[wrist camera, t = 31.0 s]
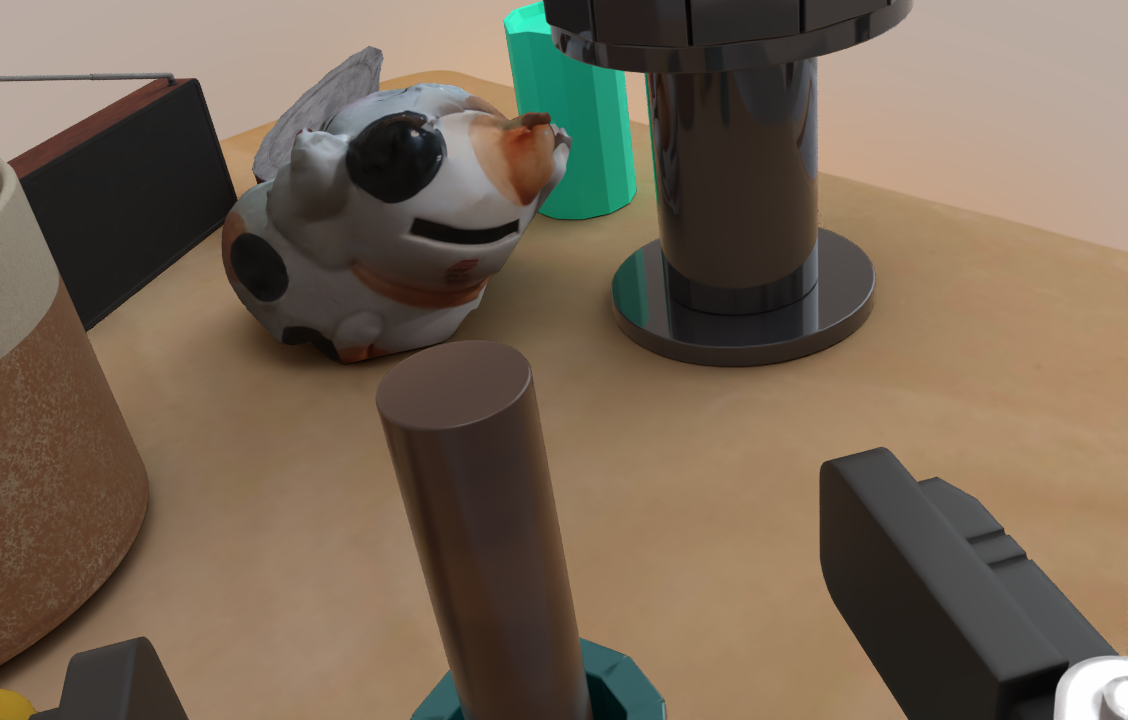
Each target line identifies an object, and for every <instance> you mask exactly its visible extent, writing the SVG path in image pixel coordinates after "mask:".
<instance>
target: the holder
mask: <svg viewBox="0 0 1128 720" xmlns="http://www.w3.org/2000/svg"><path fill="white" fill-rule="evenodd" d="M579 639H580V645H581V650H582V656H583V662H584V667H585V673H586V678H587V684H588V690H589V695H590V701H591V706H592V712H593V718H594V720H668V718H667V710H666V705H665V700H664V698H663V697H662V696H661V695H660V693H659V692H658V691H657V690H656V688H655V687H654V686H653V685H652V683H651V682H650V681H649V680H648V678H647V677H646V676H645V675H644V674H643V672H642V671H641V670H640V669H639V667H638V666H637V665H636V664H635V662H634V661H633V660H632V659H631V657H629V656H626V655H625V654H622V653H620V652H617V651H614V650H612V649H609V648H606V647H604V646H601V645H598V644H596V643H593V642H590V641H588V640H585V639H582V638H580V637H579ZM410 720H464V717H463V713H462V710H461V706H460V703H459V699H458V696H457V692H456V688H455V685H454V681H453V678H452V674H451V670H449V671H448V672H447V673H446V675H445V676H444V677H443V678H442V679H441V681H440V682H439V683H438V684H437V685H436V687H435V688H434V689H433V690H432V691H431V693H430V694H429V695H428V696H427V697H426V699H425V700H424V701H423V702H422V703H421V705H420V706H419V707H418V708H417V710H416V711H415V712H414V713H413V715H412V717H411V718H410Z"/></svg>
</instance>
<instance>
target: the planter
mask: <svg viewBox="0 0 1128 720" xmlns="http://www.w3.org/2000/svg"><path fill="white" fill-rule="evenodd" d="M148 495H149V486H148V477H147V473H146V470H145V467H144V464H143V462H142V460H141V457H140V455H139V453H138V451H137V448H136V446H135V444H134V442H133V439H132V437H131V435H130V432H129V430H128V428H127V426H126V423H125V421H124V419H123V416H122V414H121V412H120V410H119V407H118V405H117V403H116V401H115V398H114V396H113V394H112V391H111V389H110V387H109V385H108V382H107V380H106V378H105V375H104V373H103V371H102V369H101V366H100V364H99V362H98V360H97V357H96V355H95V353H94V350H93V348H92V346H91V344H90V341H89V339H88V337H87V334H86V332H85V330H84V328H83V325H82V323H81V321H80V318H79V316H78V314H77V312H76V309H75V307H74V305H73V303H72V300H71V298H70V296H69V293H68V291H67V289H66V287H65V284H64V282H63V280H62V277H61V275H60V273H59V271H58V268H57V266H56V264H55V261H54V259H53V257H52V255H51V252H50V250H49V248H48V246H47V243H46V241H45V239H44V236H43V234H42V232H41V230H40V227H39V225H38V223H37V221H36V218H35V216H34V214H33V211H32V209H31V207H30V205H29V202H28V200H27V198H26V196H25V193H24V191H23V189H22V186H21V184H20V182H19V180H18V177H17V175H16V173H15V171H14V170H13V168H12V167H11V166H10V165H9V164H8V163H7V162H5V161H4V160H2V159H0V665H1V664H3V663H5V662H6V661H8V660H10V659H11V658H13V657H14V656H16V655H18V654H19V653H21V652H22V651H24V650H25V649H27V648H28V647H30V646H31V645H33V644H34V643H35V642H37V641H38V640H40V639H41V638H42V637H44V636H45V635H46V634H48V633H49V632H50V631H52V630H53V629H54V628H56V627H57V626H58V625H59V624H61V623H62V622H63V621H64V620H65V619H67V618H68V617H69V616H70V615H71V614H72V613H74V612H75V611H76V610H77V609H78V608H79V607H80V606H81V605H83V604H84V603H85V602H86V601H87V600H88V599H89V598H90V597H91V596H92V595H93V594H94V593H95V592H96V591H97V590H98V589H99V588H100V586H101V585H102V584H103V583H104V582H105V581H106V580H107V579H108V577H109V576H110V575H111V574H112V573H113V571H114V570H115V569H116V568H117V566H118V565H119V564H120V562H121V561H122V559H123V558H124V557H125V555H126V554H127V552H128V550H129V549H130V547H131V546H132V544H133V542H134V540H135V538H136V536H137V534H138V532H139V530H140V527H141V525H142V522H143V519H144V516H145V512H146V508H147V503H148Z"/></svg>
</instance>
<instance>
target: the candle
mask: <svg viewBox="0 0 1128 720" xmlns="http://www.w3.org/2000/svg"><path fill="white" fill-rule="evenodd" d="M504 27H505V33H506V39H507V45H508V51H509V57H510V63H511V69H512V75H513V82H514V88H515V94H516V100H517V107H518V113H519V116H521V115H523V114H525V113H528V112H535V113H545V112H547V113H548V114H549V115H550V116H551V122H550V124H551V125H553V124H554V123H555V125H556V126H557V127H558V128H559V130H560V128H564V129H565V131H566V133H567V135H568V136H570V137H572V144H571V149H570V152H569V156H568V159H567V163H566V171H565V173H564V176H563V178H562V179H561V181H560V182H559V183H558V184H557V186H556V187H555V188H554V189H553V191H552V192H551V193H550V195H549V196H548V198H547V199H546V200H545V202H544V203H543V205H542V206H541V208H540V209H539V211H538V212H539V213H541V214H544V215H547V216H550V217H552V218H555V219H587V218H591V217H596V216H600V215H605V214H610V213H612V212H614V211H616V210H617V209H619V208H621V207H623V206H625V205H627V204H629V203H630V202H631V200H632V198H633V197H634V195H635V193H636V191H637V190H636V180H635V171H634V161H633V151H632V142H631V132H630V123H629V113H628V104H627V94H626V85H625V76H624V71H619V70H613V69H607V68H601V67H597V66H593V65H589V64H585V63H582V62H580V61H577V60H574V59H572V58H570V57H568V56H566V55H564V54H563V53H562V52H560V51H559V50H558V49H557V48H556V47H555V45H554V43H553V41H552V38H551V31H550V25H549V24H548V23H547V22H546V18H545V11H544V4H543V1H540V2H537V3H534V4H531V5H527V6H524V7H521V8H518V9H515V10H513V11H512V12H511V13H510V14H509V15H508V16H507V17H506V18H505V19H504Z"/></svg>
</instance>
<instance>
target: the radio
mask: <svg viewBox="0 0 1128 720" xmlns="http://www.w3.org/2000/svg"><path fill="white" fill-rule="evenodd" d="M86 79H87V80H121V79H157V80H154V81H153V82H151V83H149V84H147V85H145V86H143V87H142V88H140V89H138V90H136V91H134V92H133V93H131V94H129V95H128V96H125V97H124V98H122V99H120V100H118V101H116V102H115V103H113V104H111V105H109V106H108V107H106V108H104V109H102V110H100V111H98V112H97V113H95V114H93V115H91V116H89V117H88V118H86V119H84V120H82V121H80V122H79V123H77V124H75V125H73V126H71V127H70V128H68V129H66V130H64V131H62V132H61V133H59V134H57V135H55V136H54V137H52V138H50V139H48V140H46V141H45V142H43V143H41V144H39V145H37V146H36V147H34V148H32V149H30V150H28V151H27V152H25V153H23V154H21V155H19V156H18V157H16V158H14V159H12V160H11V161H9V162H7V163H8V164H9V165H10V166H11V167H12V168H13V170H14V171H15V173H16V175H17V177H18V180H19V182H20V184H21V186H22V189H23V191H24V193H25V196H26V198H27V200H28V202H29V205H30V207H31V209H32V211H33V214H34V216H35V218H36V221H37V223H38V225H39V227H40V230H41V232H42V234H43V236H44V239H45V241H46V243H47V246H48V248H49V250H50V252H51V255H52V257H53V259H54V261H55V264H56V266H57V268H58V271H59V273H60V275H61V277H62V280H63V282H64V284H65V287H66V289H67V291H68V293H69V296H70V298H71V300H72V303H73V305H74V307H75V309H76V312H77V314H78V316H79V318H80V321H81V323H82V325H83V328H84V330H85V332H87V331H88V330H89V329H90V328H92V327H93V326H94V325H95V324H97V323H98V322H99V321H100V320H102V319H103V318H104V317H106V316H107V315H108V314H109V313H111V312H112V311H113V310H114V309H116V308H117V307H118V306H120V305H121V304H122V303H123V302H125V301H126V300H127V299H128V298H130V297H131V296H132V295H134V294H135V293H136V292H137V291H139V290H140V289H141V288H142V287H144V286H145V285H146V284H148V283H149V282H150V281H151V280H153V279H154V278H155V277H156V276H158V275H159V274H160V273H162V272H163V271H164V270H165V269H167V268H168V267H169V266H170V265H172V264H173V263H174V262H176V261H177V260H178V259H179V258H181V257H182V256H183V255H184V254H186V253H187V252H188V251H190V250H191V249H192V248H193V247H195V246H196V245H197V244H198V243H200V242H201V241H202V240H204V239H205V238H206V237H207V236H209V235H210V234H211V233H212V232H214V231H215V230H216V229H218V228H219V227H220V226H221V225H223V224H224V222H225V219H226V217H227V215H228V213H229V212H230V210H231V209H232V207H233V206H234V205H235V203H236V202H237V201H238V199H237V196H236V193H235V190H234V187H233V184H232V181H231V178H230V175H229V172H228V168H227V165H226V162H225V159H224V156H223V153H222V150H221V147H220V144H219V141H218V138H217V135H216V132H215V128H214V125H213V122H212V119H211V116H210V113H209V110H208V107H207V104H206V101H205V98H204V95H203V92H202V88H201V86H200V83H199V81H198V80H197V79H195V78H189V79H175V78H174V76H173V74H172V73H134V74H133V73H132V74H90V75H54V76H53V75H51V76H0V81H41V80H42V81H43V80H86Z"/></svg>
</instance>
